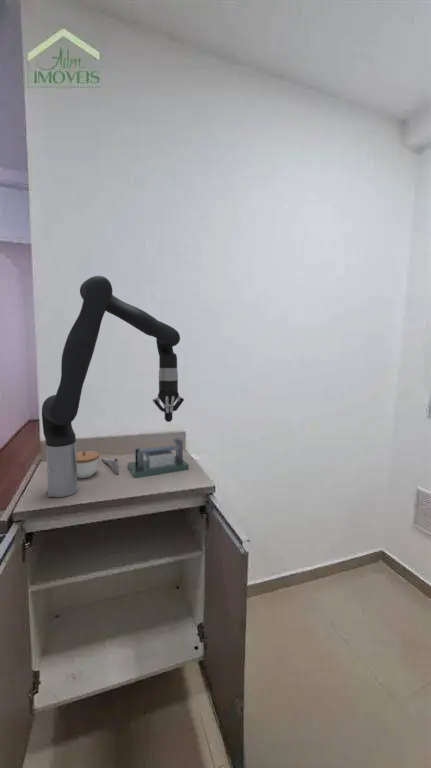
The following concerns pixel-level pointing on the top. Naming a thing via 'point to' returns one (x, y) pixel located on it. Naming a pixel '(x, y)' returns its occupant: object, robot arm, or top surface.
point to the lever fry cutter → (158, 462)
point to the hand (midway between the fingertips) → (168, 421)
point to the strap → (157, 449)
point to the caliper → (112, 464)
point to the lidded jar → (86, 463)
